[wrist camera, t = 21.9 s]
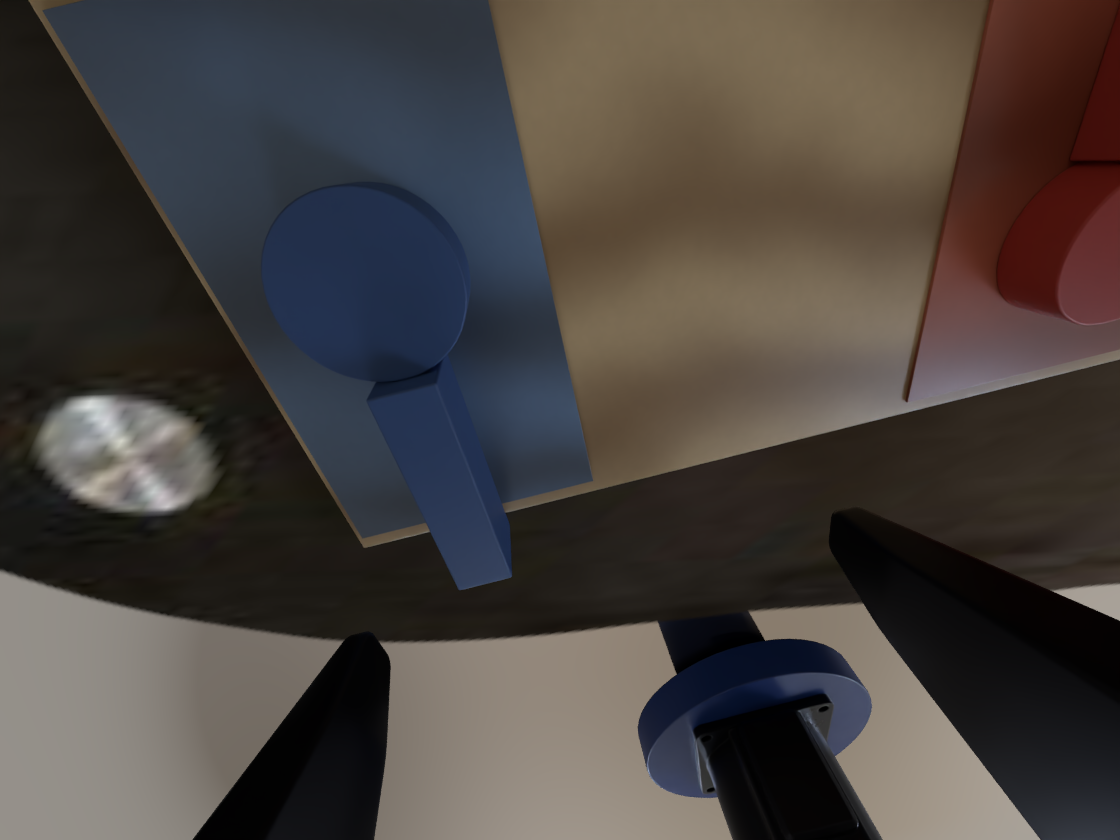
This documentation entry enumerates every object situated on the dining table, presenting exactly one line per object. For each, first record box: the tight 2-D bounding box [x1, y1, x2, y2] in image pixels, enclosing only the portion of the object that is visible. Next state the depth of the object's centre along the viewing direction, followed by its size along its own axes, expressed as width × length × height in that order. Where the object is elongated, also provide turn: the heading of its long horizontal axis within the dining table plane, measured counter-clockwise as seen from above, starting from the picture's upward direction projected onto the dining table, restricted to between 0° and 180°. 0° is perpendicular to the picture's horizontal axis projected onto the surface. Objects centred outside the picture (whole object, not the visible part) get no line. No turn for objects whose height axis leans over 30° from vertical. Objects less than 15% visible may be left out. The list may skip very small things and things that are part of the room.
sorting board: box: [28, 0, 1120, 548], centre depth 12 cm, size 14×26×1 cm, turn 102°
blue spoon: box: [261, 182, 512, 590], centre depth 11 cm, size 10×4×2 cm, turn 12°
